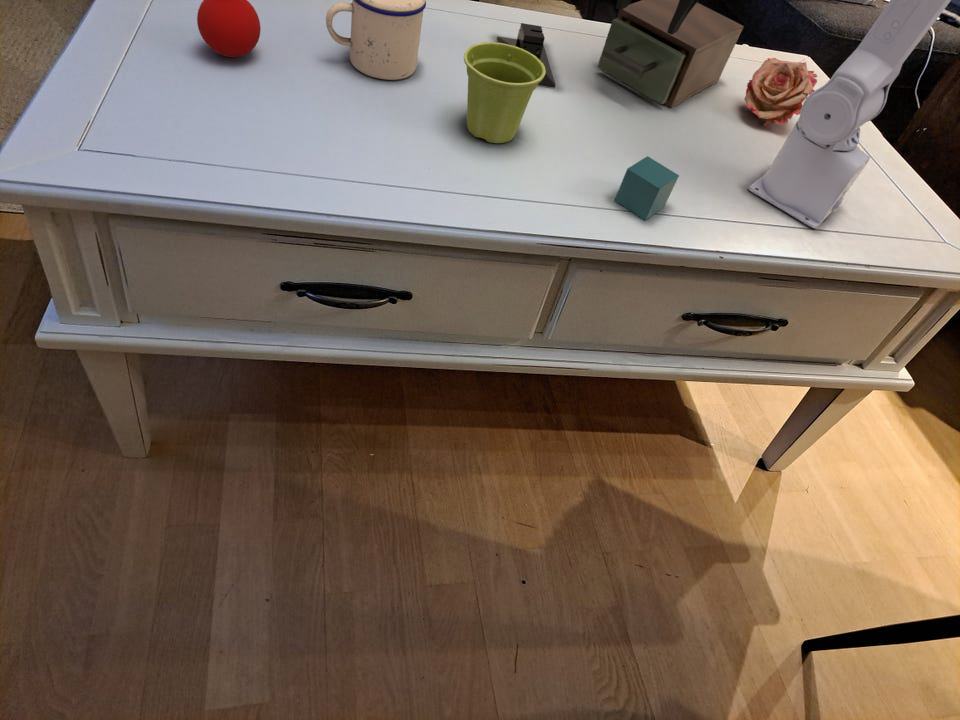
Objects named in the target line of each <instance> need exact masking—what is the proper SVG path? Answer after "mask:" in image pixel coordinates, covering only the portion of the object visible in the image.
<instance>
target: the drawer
mask: <svg viewBox="0 0 960 720" xmlns="http://www.w3.org/2000/svg"><path fill="white" fill-rule="evenodd" d="M688 54H689V52H688V51H686V50H685V49H683V48H681V47H679V46H677V45H675V44H673V43H672V42H670V41H668V40H666V39H664V38H662V37H660V36H659V35H657V34H655V33H653V32H651V31H649V30H647V29H646V28H644V27H642V26H640V25H638V24H636V23H634V22H633V21H631V20H629V19H627V20H626V21H625V22H623V21H622V20H620V19H618V18H617V17H616V18H613V19H612V20H611V24H610V26H609V30H608V33H607V36H606V39H605V41H604V44H603V48H602V51H601V54H600V57H599V61H598V63H597V69H599V70H601V71H604V73H606V74H608V75H609V76H611V77H614V78H615V79H617V80H619V81H621V82H622V83H624V84H626V85H627V86H629V87H631V88H632V89H634V90H636V91H638V92H640V93H642V94H643V95H645V96H646V97H648V98H650V99H651V100H654V101H655V102H657V103H658V104H660V105H665V104H664V103H666V101H667V99H668V97H669V94H671V93H672V91H673V89H674V87H675V84H676V82H677V79H678V77H679V75H680V72H681V70H682V68H683V65H684V63H685V61H686V58H687V56H688Z"/></svg>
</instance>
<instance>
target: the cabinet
mask: <svg viewBox="0 0 960 720" xmlns="http://www.w3.org/2000/svg"><path fill="white" fill-rule="evenodd" d="M678 3H679V0H640V1H639V0H638V1H636V2H633V3H630V4H628V6H627V7H626V8H624V9H622V10H619V9H618V10H619V11H618V13H617V16H616V18H618V19H620V20H622V21H623V22H625V21H626V20H627V19H629V20H631V21H633V22H634V23H636V24H638V25H640V26H642V27H644V28H646V29H647V30H649V31H651V32H653V33H655V34H657V35H659V36H660V37H662V38H664V39H666V40H668V41H670V42H672V43H673V44H675V45H677V46H679V47H681V48H683V49H685V50H686V51H688V52H689V54H688V56H687V58H686V61H685V63H684V65H683V68H682V70H681V72H680V75H679V77H678V79H677V82H676V84H675V87H674V89H673V91H672V93H671V94H669V97H668V99H667V101H666V103H664V104H663V105H664V106H666V107H668V108H670V109H672V108H674V107H675V106H677V105H680V104H681V103H683V102H684V101H686V100H688V99H690V98H692V97H694V96H695V95H697V94H699V93H701V92H702V91H704V90H707V89H708V88H710V87H712V86H713V85H715V84H717V83H718V82H719V80H720V78H721V76H722V74H723V72H724V69H725V67H726V65H727V63H728V61H729V59H730V57H731V55H732V52H733V50H734V48H735V46H736V44H737V42H738V40H739V39H740V38H739V37H740V35H741V33H742V31H743V29H744V27H745V26H744V25H742V24H740V23H738V22H737V21H735V20H733V19H730V18H729V17H727V16H725V15H722V14H721V13H718V12H717V11H715V10H713V9H712V8H709V7H707V6H705V5H703V4H701V3H699V2H697V3H696V4H695V6H694V7H693V8H692V9H691V11H690V12H689V14H688V15H687V16H686V18H685V19H684V21H683V23H682V24H681V26H680V28H679V30H678V31H677V32H676V33H674V34H672V35H671V34H669V33H667V31H668V28H669V25H670V23H671V20H672V18H673V16H674V13H675V11H676V9H677V6H678Z"/></svg>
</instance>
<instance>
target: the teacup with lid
mask: <svg viewBox="0 0 960 720" xmlns="http://www.w3.org/2000/svg"><path fill="white" fill-rule="evenodd" d="M426 6H427V0H351V2H338V3H335V4H333V5H331V6H330V7H329V8H328V10H327V12H326V15H325V26H326V29H327V32H328V34H329V35H330V37H331V39H332V40H333V41H334V42H336V43H337V44H339V45H342V46H345V47H346V46H347V47H350V48H349V60H350V62H351V64H352V66H353V67H354V68H355V69H356V70H357V71H359V72H360V73H362V74H364V75H365V76H368V77H371V78H374V79H380V80H385V81H387V80H388V81H397V80H403V79H406V78H409V77H410V76H412V75H413V74H414V73H415V71H416V69H417V66H418V56H419V50H420V49H419V48H420V42H421V41H420V40H421V33H422V25H423V17H424V10H425V9H426V8H427V7H426ZM341 12H350V13H351V22H350V37H345V36H341V35H340V34H338V33H337V32H336V31H335V29H334V28H333V19H334V17H335V15H337V14H338V13H341Z"/></svg>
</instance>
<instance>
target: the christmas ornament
mask: <svg viewBox="0 0 960 720" xmlns="http://www.w3.org/2000/svg"><path fill="white" fill-rule="evenodd" d="M200 3H201V4H200V5H199V6H198V9H197V15H196V24H197V28H198V32H199V34H200V36H201V38H202V40H203V42H204V43H205V44H206V45H207V46H208V47H209V48H210V49H211V50H212V51H213V52H215V53H217V54H219V55H221V56H224V57H229V58H240V57H242V56H245V55H247V54H249V53H250V52H252V50H254V49H255V47H256V46H257V44H258V43H259V41H260V40H259V39H260V38H261V37H260V36H261V22H260V21H261V20H260V18H259V15H258V12H257V11H256V9H255V8H254V6H253V5H252V4H251V2H250V1H249V0H202V2H200Z"/></svg>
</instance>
